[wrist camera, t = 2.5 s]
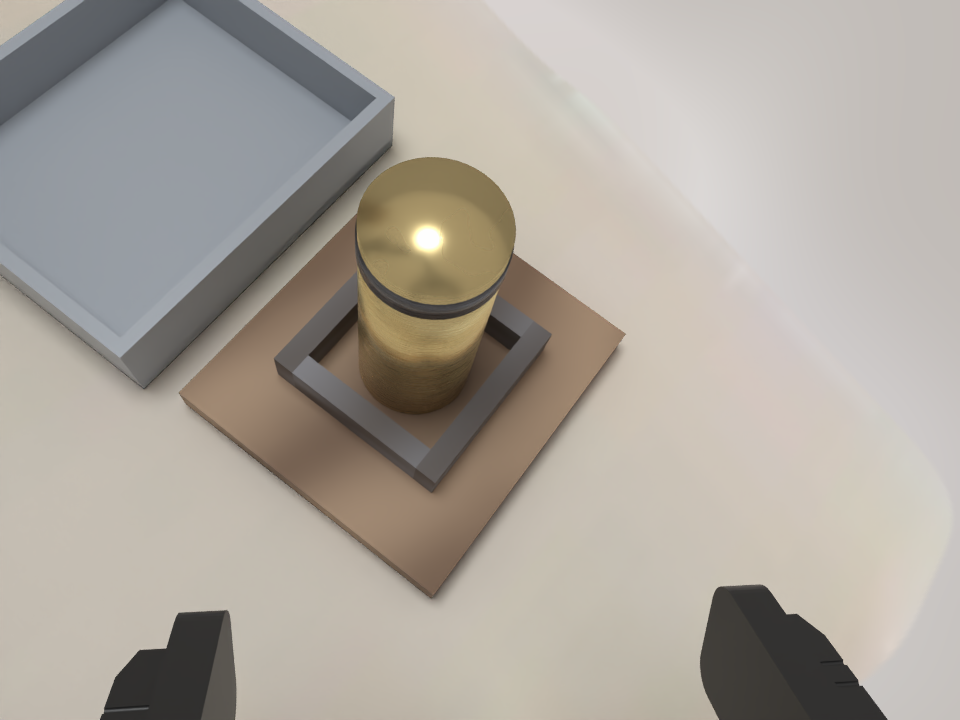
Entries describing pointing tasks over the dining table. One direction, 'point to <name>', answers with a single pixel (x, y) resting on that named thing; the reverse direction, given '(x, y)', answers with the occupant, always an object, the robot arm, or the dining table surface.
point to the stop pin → (427, 278)
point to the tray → (168, 162)
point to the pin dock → (389, 434)
